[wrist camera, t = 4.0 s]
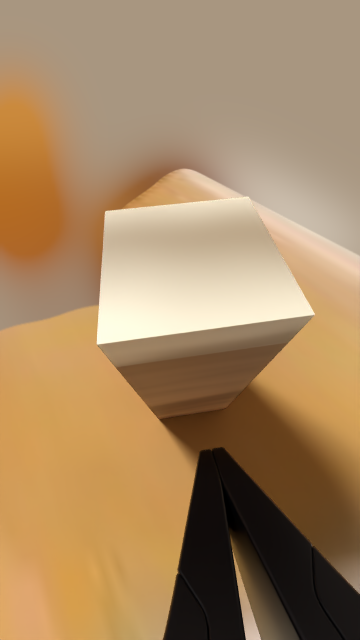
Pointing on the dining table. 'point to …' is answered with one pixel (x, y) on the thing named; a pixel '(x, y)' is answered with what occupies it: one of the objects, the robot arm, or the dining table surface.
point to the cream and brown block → (194, 302)
